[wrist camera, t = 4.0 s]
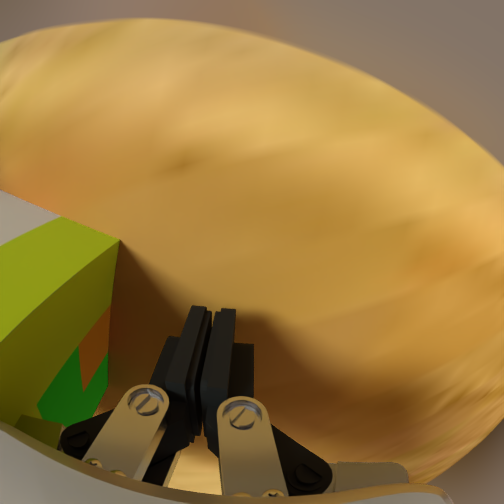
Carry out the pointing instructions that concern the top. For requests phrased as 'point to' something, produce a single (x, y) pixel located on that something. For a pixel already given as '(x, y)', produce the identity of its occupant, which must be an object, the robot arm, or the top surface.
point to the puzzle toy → (52, 314)
